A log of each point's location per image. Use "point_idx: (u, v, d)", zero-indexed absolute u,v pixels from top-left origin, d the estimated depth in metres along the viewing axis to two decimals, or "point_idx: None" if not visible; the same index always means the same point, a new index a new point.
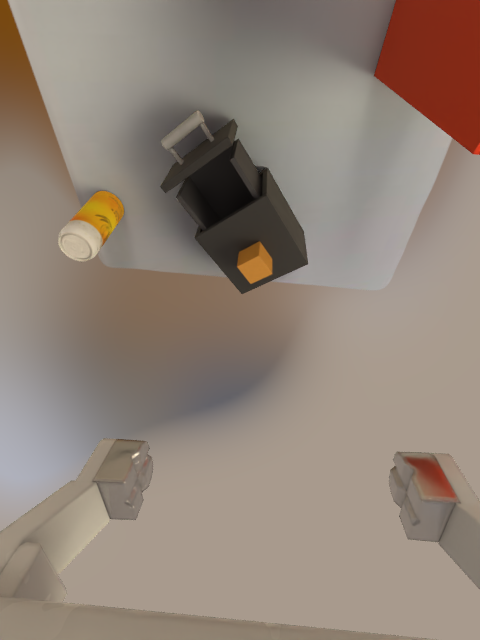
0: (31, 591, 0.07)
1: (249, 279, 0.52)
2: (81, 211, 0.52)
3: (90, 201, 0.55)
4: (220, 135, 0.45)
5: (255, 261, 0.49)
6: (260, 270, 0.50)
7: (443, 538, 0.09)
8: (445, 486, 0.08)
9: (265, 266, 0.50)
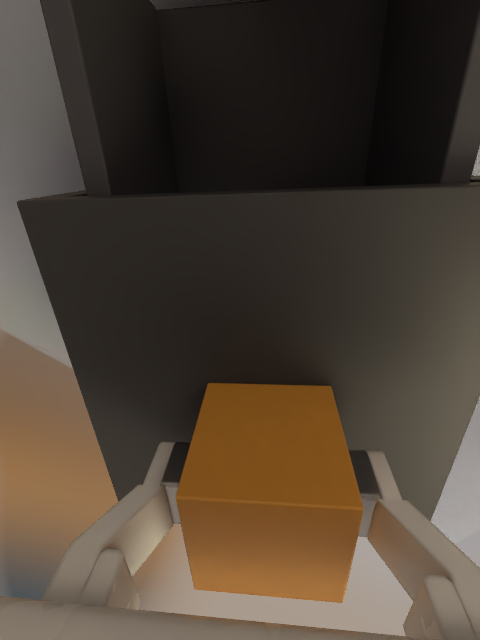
0: (117, 599, 0.07)
1: (203, 574, 0.08)
2: None
3: None
4: None
5: (311, 523, 0.07)
6: (298, 568, 0.08)
7: (372, 533, 0.09)
8: (370, 482, 0.09)
9: (343, 566, 0.08)
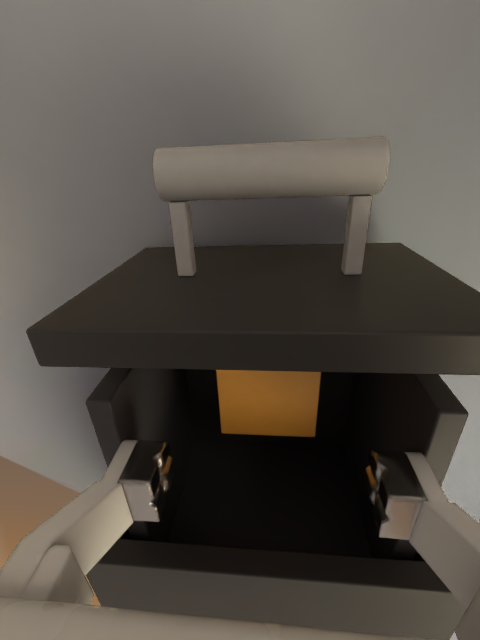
0: (63, 594, 0.07)
1: (228, 418, 0.14)
2: None
3: None
4: (401, 277, 0.11)
5: (293, 371, 0.12)
6: (286, 408, 0.13)
7: (414, 536, 0.09)
8: (414, 484, 0.08)
9: (313, 404, 0.13)
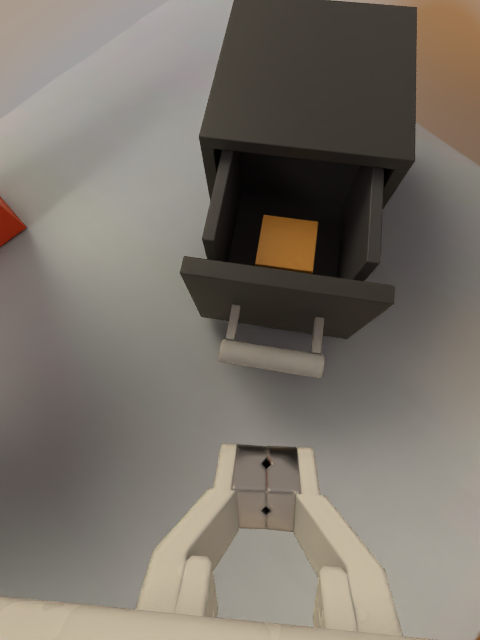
0: (209, 608, 0.07)
1: (312, 231, 0.23)
2: None
3: None
4: (215, 300, 0.22)
5: (271, 258, 0.23)
6: (277, 235, 0.23)
7: (297, 528, 0.09)
8: (293, 478, 0.09)
9: (262, 236, 0.23)
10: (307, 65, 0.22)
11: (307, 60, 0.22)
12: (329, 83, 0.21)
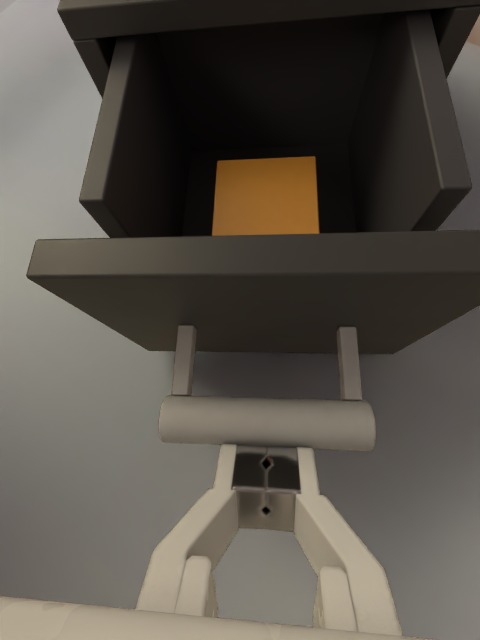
0: (209, 608, 0.07)
1: (307, 174, 0.13)
2: None
3: None
4: (144, 322, 0.12)
5: (239, 230, 0.12)
6: (245, 189, 0.13)
7: (297, 528, 0.09)
8: (293, 478, 0.09)
9: (219, 196, 0.13)
10: None
11: None
12: None
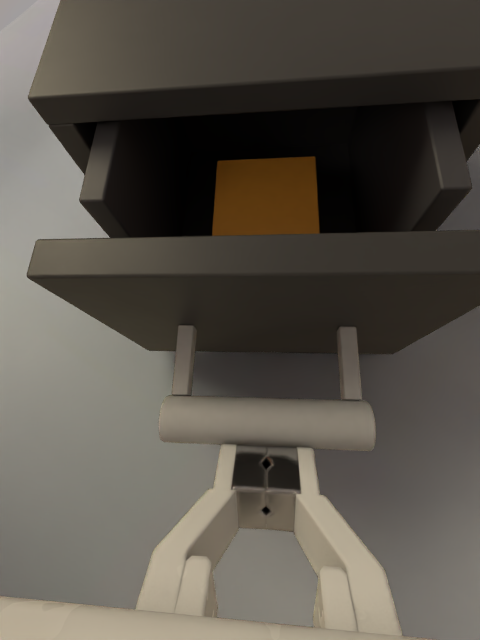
0: (209, 608, 0.07)
1: (307, 174, 0.13)
2: None
3: None
4: (144, 322, 0.12)
5: (239, 230, 0.12)
6: (245, 189, 0.13)
7: (297, 528, 0.09)
8: (293, 478, 0.09)
9: (219, 196, 0.13)
10: None
11: None
12: None
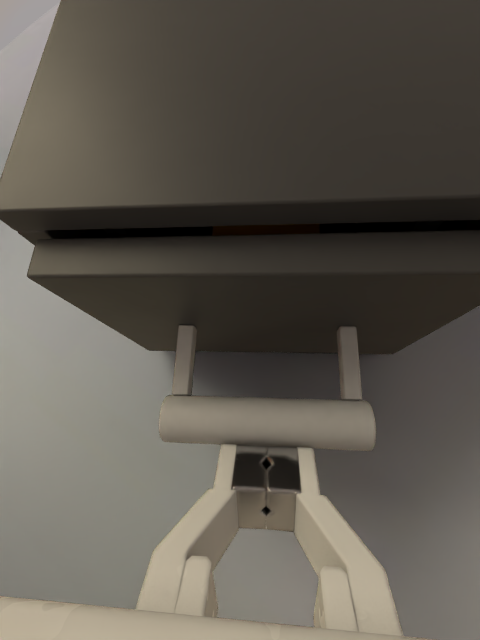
0: (209, 609, 0.07)
1: None
2: None
3: None
4: (144, 322, 0.12)
5: (239, 230, 0.12)
6: None
7: (297, 528, 0.09)
8: (294, 478, 0.09)
9: None
10: (247, 5, 0.09)
11: None
12: (304, 33, 0.09)
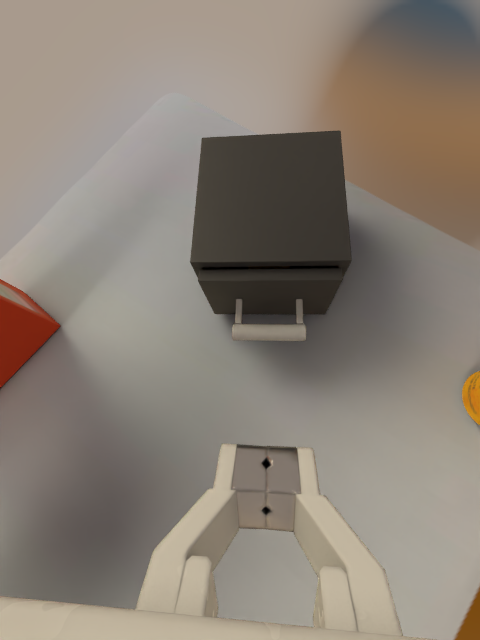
0: (209, 608, 0.07)
1: None
2: None
3: None
4: (223, 297, 0.31)
5: None
6: None
7: (297, 528, 0.09)
8: (293, 478, 0.09)
9: None
10: (263, 192, 0.29)
11: (263, 188, 0.29)
12: (281, 205, 0.28)
